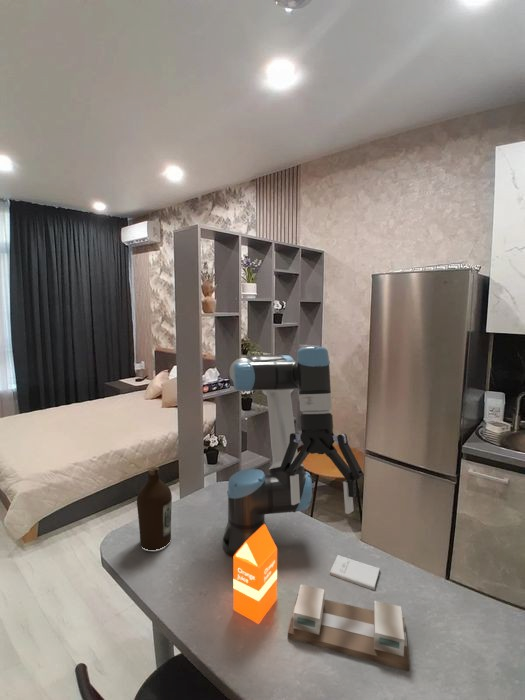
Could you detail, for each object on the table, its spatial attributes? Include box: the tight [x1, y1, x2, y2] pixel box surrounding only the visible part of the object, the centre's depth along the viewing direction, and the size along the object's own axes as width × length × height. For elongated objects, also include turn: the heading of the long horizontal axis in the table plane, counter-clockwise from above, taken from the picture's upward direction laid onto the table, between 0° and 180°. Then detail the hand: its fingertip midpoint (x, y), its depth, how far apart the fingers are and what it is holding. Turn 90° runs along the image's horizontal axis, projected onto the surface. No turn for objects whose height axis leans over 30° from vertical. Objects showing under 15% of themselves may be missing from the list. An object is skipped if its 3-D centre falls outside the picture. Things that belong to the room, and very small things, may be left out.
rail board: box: [287, 584, 410, 671], centre depth 85 cm, size 26×12×6 cm, turn 74°
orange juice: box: [232, 524, 278, 625], centre depth 92 cm, size 8×9×20 cm
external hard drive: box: [329, 554, 381, 591], centre depth 104 cm, size 2×8×12 cm
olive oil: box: [136, 466, 173, 550], centre depth 115 cm, size 11×11×25 cm
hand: (321, 507), depth 82 cm, fingers open, 13 cm apart
